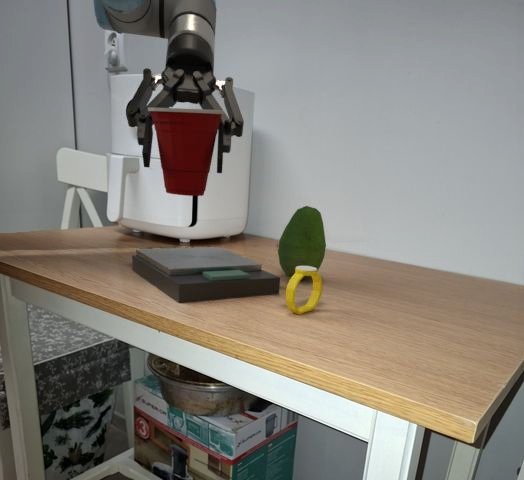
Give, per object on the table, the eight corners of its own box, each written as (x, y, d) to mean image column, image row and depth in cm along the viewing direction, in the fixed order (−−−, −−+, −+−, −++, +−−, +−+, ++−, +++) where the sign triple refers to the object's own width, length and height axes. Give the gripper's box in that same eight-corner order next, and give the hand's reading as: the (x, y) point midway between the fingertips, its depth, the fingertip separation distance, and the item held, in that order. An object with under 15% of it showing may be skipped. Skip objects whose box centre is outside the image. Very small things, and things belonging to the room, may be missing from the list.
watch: (308, 305, 68) (313, 263, 65) (323, 310, 66) (329, 267, 64) (279, 312, 64) (283, 267, 61) (295, 318, 62) (300, 272, 60)
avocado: (330, 282, 82) (340, 209, 77) (292, 285, 78) (300, 208, 73) (303, 272, 88) (310, 203, 83) (266, 274, 84) (272, 202, 79)
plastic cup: (132, 189, 73) (131, 100, 68) (188, 190, 81) (191, 110, 76) (177, 198, 66) (179, 100, 62) (234, 198, 74) (239, 111, 69)
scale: (132, 270, 79) (131, 248, 77) (220, 266, 87) (220, 246, 86) (178, 302, 64) (179, 276, 63) (278, 293, 72) (281, 270, 71)
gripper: (257, 83, 82) (258, 187, 74) (122, 70, 80) (106, 175, 71) (262, 41, 76) (264, 149, 67) (115, 24, 73) (97, 135, 64)
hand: (183, 163), depth 69 cm, fingers closed on plastic cup, 10 cm apart
